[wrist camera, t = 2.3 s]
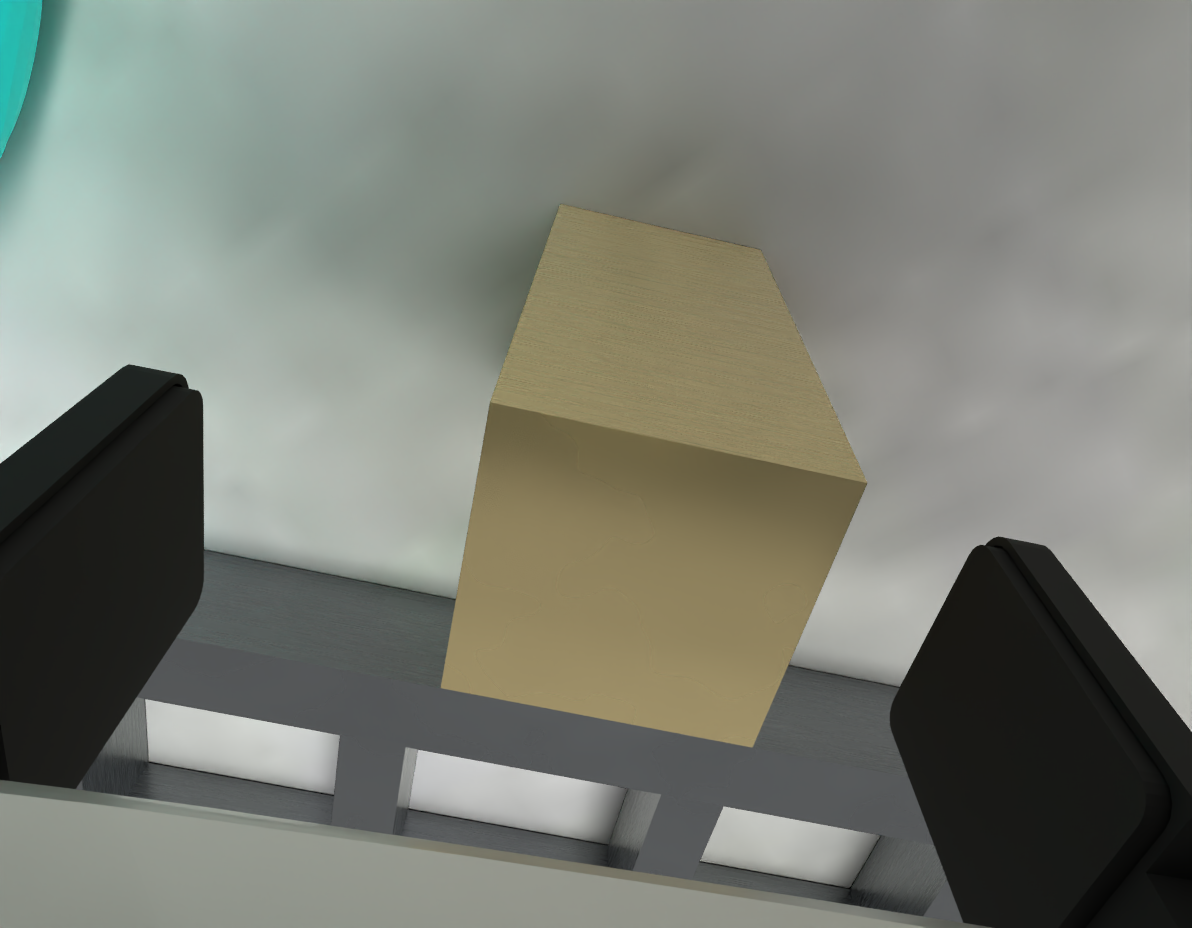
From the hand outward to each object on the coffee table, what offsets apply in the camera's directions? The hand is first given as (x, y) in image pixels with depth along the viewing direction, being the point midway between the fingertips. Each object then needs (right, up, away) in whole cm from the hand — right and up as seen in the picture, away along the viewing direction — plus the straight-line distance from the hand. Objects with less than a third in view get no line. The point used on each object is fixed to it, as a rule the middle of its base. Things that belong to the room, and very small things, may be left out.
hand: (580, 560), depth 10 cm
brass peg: (+1, +4, +7) cm, 8 cm away
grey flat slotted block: (-2, -7, +14) cm, 15 cm away
